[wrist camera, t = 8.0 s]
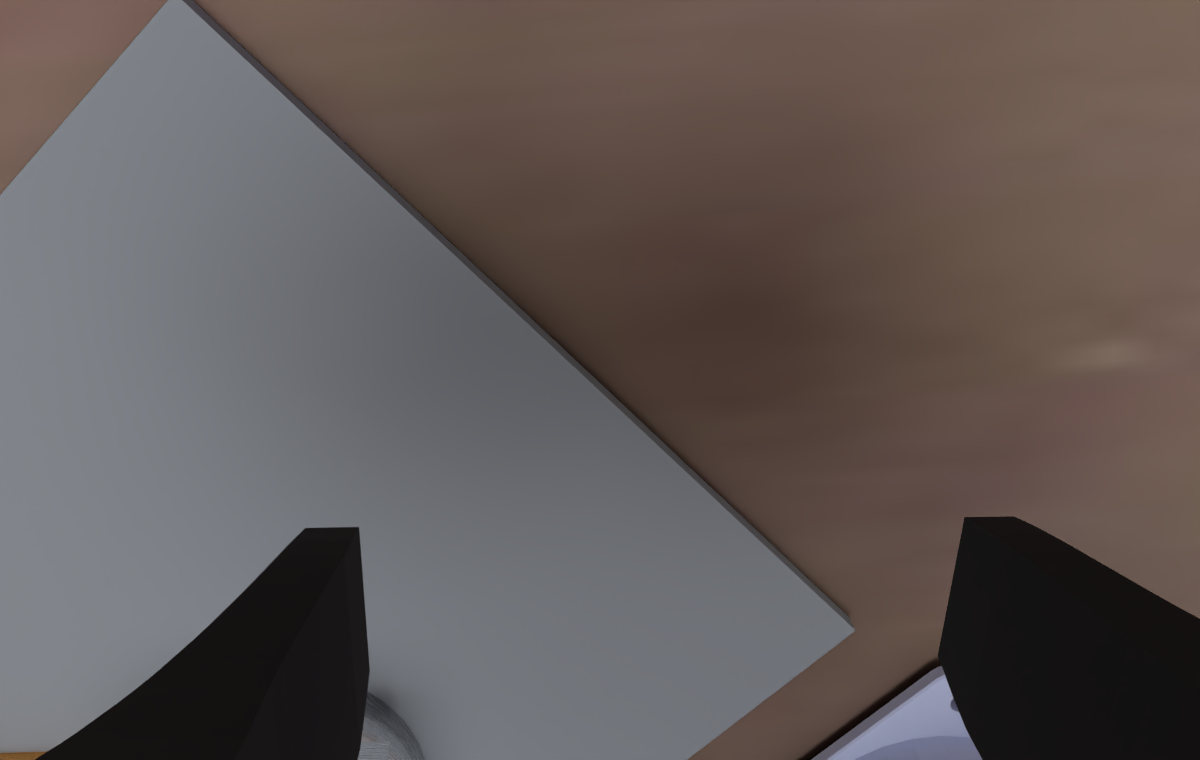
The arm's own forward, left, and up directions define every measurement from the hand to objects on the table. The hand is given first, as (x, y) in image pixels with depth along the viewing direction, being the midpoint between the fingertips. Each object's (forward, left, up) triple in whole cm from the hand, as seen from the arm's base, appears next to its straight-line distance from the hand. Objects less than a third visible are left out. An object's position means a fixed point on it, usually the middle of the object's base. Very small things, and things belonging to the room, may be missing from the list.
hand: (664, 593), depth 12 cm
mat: (0, +12, -9) cm, 15 cm away
